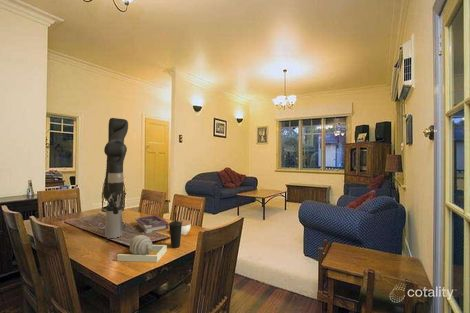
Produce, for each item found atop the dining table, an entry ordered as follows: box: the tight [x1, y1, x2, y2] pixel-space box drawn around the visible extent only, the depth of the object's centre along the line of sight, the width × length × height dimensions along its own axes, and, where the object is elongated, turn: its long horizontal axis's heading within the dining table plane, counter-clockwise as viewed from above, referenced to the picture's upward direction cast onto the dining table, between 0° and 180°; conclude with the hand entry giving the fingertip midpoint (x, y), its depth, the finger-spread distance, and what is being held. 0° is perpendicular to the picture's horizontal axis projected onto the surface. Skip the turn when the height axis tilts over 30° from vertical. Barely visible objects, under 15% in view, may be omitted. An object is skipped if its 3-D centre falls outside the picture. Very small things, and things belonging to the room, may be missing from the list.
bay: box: [116, 244, 168, 263], centre depth 133 cm, size 20×14×3 cm
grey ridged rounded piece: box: [129, 234, 153, 255], centre depth 131 cm, size 11×17×11 cm, turn 55°
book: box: [134, 214, 170, 234], centre depth 183 cm, size 25×16×5 cm, turn 37°
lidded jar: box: [177, 218, 192, 236], centre depth 168 cm, size 11×11×9 cm
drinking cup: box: [168, 211, 182, 249], centre depth 145 cm, size 8×8×20 cm
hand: (115, 213), depth 133 cm, fingers closed
